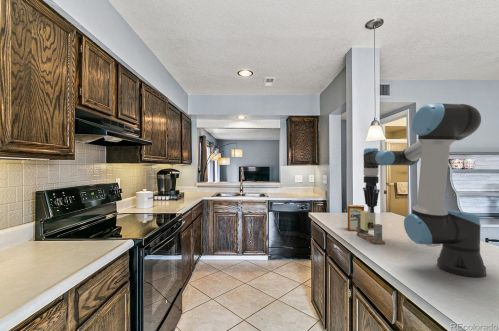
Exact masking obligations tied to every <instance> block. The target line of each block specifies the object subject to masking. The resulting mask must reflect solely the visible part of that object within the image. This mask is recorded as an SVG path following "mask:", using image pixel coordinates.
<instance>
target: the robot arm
mask: <svg viewBox="0 0 499 331" xmlns="http://www.w3.org/2000/svg"><path fill="white" fill-rule="evenodd" d="M481 123H482V115H481V113H480V111H479V110H478V108H476V107H474V106H473V105H470V104H467V103H466V104H465V103H440V102H439V103H438V102H437V103H428V104H425V105H422V106H421V107H420V108H418V110H417V111H416V112H415V114H414V116H413V118H412V121H411V129H412V132H413V133H414V134H415V135H417V140H418V141H416V142H415V143H413V144H411V145H409V146H408V147H406V148H404V149H402V150H387V149H385V150H379V148H378V147H369V148H368V147H366V148H364V149H363V155H362V156H363V183H364V184H365V187H363V188H362V190H363V195H364V203H365V205H366V206H367V211H368V218H369V219H374V212H375V207H377V206H378V200H379V194H380V189H378V187H377V184H378V183H379V182H380V181H379V172H380V170H379V166H386V167H387V166H415V165H417V164H418V163H419V162H420V167H419V177H418V178H419V179H418V190H417V200H416V201H417V202H416V204H415V205H414V206H412V209H411V213H409V214H407V215H406V216H405V217H404V220H403V227H404V230H405V233H406V234H407V237H408V238H409V239H410V240H411V241H412V242H413V243H415V244H417V245H425V246H430V244H440V245H442V246H441V249H440V252H439V256H438V257H437V261H436V266H437V267H438V268H440V269H441V270H444V271H445V272H448V273H450V274H454V275H458V276H463V277H471V278H481V277H483V278H484V277H485V276H487V267H486V266H485V264H484V261H483V258H482V255H481V226H482V224H481V220H480V217H479V215H477V214H476V213H472V212H467V211H460V210H454V209H446V208H445V199H446V191H447V190H446V189H447V179H448V178H447V177H448V170H449V168H448V167H449V159H450V149H451V145H452V144H453V143H454V142H456V141H457V142H458V141H461V140H463V139H465V138H467V137H469V136H471V135H473V134H474V133H476V131H477V130H478V129H479V127H480V126H481Z"/></svg>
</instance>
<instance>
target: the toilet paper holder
mask: <svg viewBox="0 0 499 331" xmlns="http://www.w3.org/2000/svg"><path fill="white" fill-rule="evenodd" d="M360 219H361V216H358V232H356V236H358V237H359V238H361V239H363V240H365V241H367V242H369V243H371V244H373V245H385V244H386V242H385V240H383V224H380V223H375V224H374V225H373V224H371V223H369V222H368V226H369V227H371V228H374V230H373V234H371V233H369V231H365V230H363V229H361V228H360Z"/></svg>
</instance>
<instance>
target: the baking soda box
mask: <svg viewBox="0 0 499 331" xmlns="http://www.w3.org/2000/svg"><path fill="white" fill-rule="evenodd" d="M361 211H365V206H364V205H362V204H347V231H348V232H355V233H358V216H361Z"/></svg>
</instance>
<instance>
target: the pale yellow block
mask: <svg viewBox="0 0 499 331" xmlns="http://www.w3.org/2000/svg"><path fill="white" fill-rule="evenodd" d="M368 222H369V223H371V224H373V225H374V224H376V211H374V219H369V218H368V210H364V211H361V219H360V228H361V229H363V230H365V231H368V232H369V231H374V228H371V227H369V226H368Z"/></svg>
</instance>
